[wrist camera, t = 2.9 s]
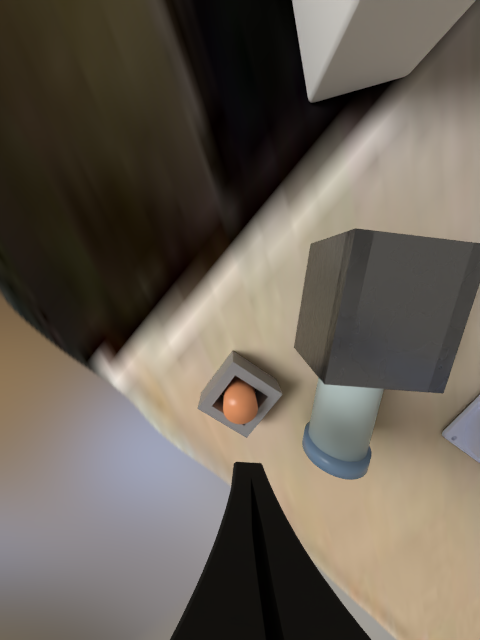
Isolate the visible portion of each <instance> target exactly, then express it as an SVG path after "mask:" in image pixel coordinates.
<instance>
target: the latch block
mask: <svg viewBox="0 0 480 640" xmlns="http://www.w3.org/2000/svg"><path fill="white" fill-rule="evenodd" d="M235 375H236V376H237V377H239V378H240V379H242V380H243V381H245V382H246V383H248V384H249V385H251V386H253V387H254V388H256V389H257V391H256V392H255V395H256V400H257V405H258V412H257V415H256V416H255V418H254V419H253V420H252V421H250V422H248V423H246V424H235V423H232V422H230V421H229V420H228V419H227V418H226V417H225V415H224V412H223V402H224V396H223V395H221V393H222V392H223V391H224V390H225V388H226V387H227V386H228V384H229V383H230V382H231V380H232V379H233V378H234V376H235ZM281 396H282V392H281V389H280V387H279V385H278V382H277V380H276V379H275V378H273V377H272V376H270V375H269V374H267V373H266V372H264V371H263V370H261V369H260V368H258V367H257V366H255V365H254V364H252V363H251V362H249V361H248V360H246V359H245V358H243V357H242V356H240V355H239V354H237V353H236V352H234V351H232V352H231V353H230V355H229V356H228V357H227V359H226V360H225V362H224V363H223V364H222V366H221V367H220V368H219V370H218V371H217V372H216V374H215V375H214V376H213V378H212V379H211V380H210V382H209V383H208V384H207V386H206V387H205V388H204V390H203V391H202V392H201V396H200V401H199V405H198V409H199V410H201V411H202V412H204V413H206V414H208V415H209V416H211V417H213V418H214V419H216V420H218V421H219V422H221V423H223V424H224V425H226V426H228V427H229V428H231V429H233V430H234V431H236V432H238V433H239V434H241V435H243V436H244V437H246V438H247V437H248V436H249V434H250V433H251V432H252V431H253V429H254V428H255V427H256V426H257V425H258V423H259V422H260V421H261V420H262V419H263V417H264V416H265V415H266V414H267V413H268V411H269V410H270V409H271V408H272V406H273V405H274V404H275V403H276V402H277V400H278V399H279V398H280V397H281Z"/></svg>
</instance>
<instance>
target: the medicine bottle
mask: <svg viewBox="0 0 480 640" xmlns="http://www.w3.org/2000/svg"><path fill="white" fill-rule="evenodd" d="M475 1H476V0H292V3H293V9H294V15H295V21H296V27H297V33H298V39H299V46H300V52H301V58H302V64H303V70H304V76H305V83H306V89H307V95H308V100H309V101H310V102H311V103H314V102H318V101H321V100H325V99H328V98H332V97H335V96H339V95H342V94H346V93H349V92H353V91H356V90H360V89H363V88H367V87H370V86H374V85H377V84H381V83H384V82H388V81H391V80H395V79H398V78H402V77H405V76H407V75H408V74H410V73H411V71H412V70H413V69H414V68H415V67H416V66H417V65H418V64H419V63H420V61H421V60H422V59H423V58H424V57H425V56H426V55H427V54H428V53H429V51H430V50H431V49H432V48H433V47H434V46H435V45H436V44H437V43H438V42H439V40H440V39H441V38H442V37H443V36H444V35H445V34H446V33H447V32H448V30H449V29H450V28H451V27H452V26H453V25H454V24H455V23H456V22H457V21H458V19H459V18H460V17H461V16H462V15H463V14H464V13H465V12H466V11H467V9H468V8H469V7H470V6H471V5H472V4H473V3H474V2H475Z"/></svg>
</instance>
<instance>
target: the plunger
mask: <svg viewBox="0 0 480 640" xmlns="http://www.w3.org/2000/svg"><path fill="white" fill-rule="evenodd" d="M223 412H224V415H225V417H226V418H227V419H228V420H229V421H230V422H232V423H235V424H246V423H248V422H250V421H252V420H253V419H254V418H255V416H256V415H257V412H258V405H257V400H256V395H255V389H254V387H253V386H251V385H249V384H248V383H246V382H245V381H243V380H242V379H240V378H239V377H237V376H236V375H235V376H234V378H233V379H232V380H231V382H230V383H229V384H228V386H227V387H226V388H225V390H224V402H223Z"/></svg>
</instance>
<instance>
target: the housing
mask: <svg viewBox="0 0 480 640" xmlns="http://www.w3.org/2000/svg"><path fill="white" fill-rule="evenodd" d="M479 283H480V243H472V242H464V241H456V240H447V239H439V238H430V237H422V236H414V235H405V234H397V233H389V232H380V231H372V230H363V229H353V230H350V231H347V232H344V233H341V234H338V235H335V236H332V237H329V238H326V239H324V240H321V241H318V242H315V243H312V244H311V246H310V252H309V258H308V264H307V271H306V277H305V283H304V289H303V295H302V301H301V308H300V314H299V320H298V326H297V332H296V339H295V345H294V348H295V349H296V350H297V352H298V353H299V354H300V355H301V356H302V358H303V359H304V360H305V361H306V363H307V364H308V365H309V366H310V367H311V369H312V370H313V371H314V372H315V374H316V375H317V376H318V377H319V378H320V380H321V381H322V382H323V383H324V384H325V385H338V386H352V387H365V388H379V389H392V390H405V391H419V392H432V393H444V390H445V387H446V384H447V381H448V378H449V375H450V371H451V368H452V365H453V362H454V359H455V356H456V353H457V350H458V347H459V344H460V341H461V338H462V335H463V332H464V329H465V326H466V323H467V320H468V317H469V314H470V311H471V308H472V305H473V302H474V298H475V295H476V292H477V289H478V286H479Z"/></svg>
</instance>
